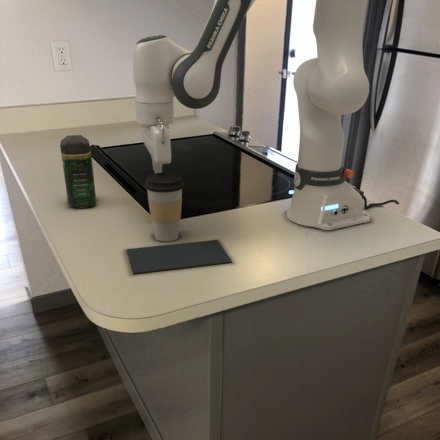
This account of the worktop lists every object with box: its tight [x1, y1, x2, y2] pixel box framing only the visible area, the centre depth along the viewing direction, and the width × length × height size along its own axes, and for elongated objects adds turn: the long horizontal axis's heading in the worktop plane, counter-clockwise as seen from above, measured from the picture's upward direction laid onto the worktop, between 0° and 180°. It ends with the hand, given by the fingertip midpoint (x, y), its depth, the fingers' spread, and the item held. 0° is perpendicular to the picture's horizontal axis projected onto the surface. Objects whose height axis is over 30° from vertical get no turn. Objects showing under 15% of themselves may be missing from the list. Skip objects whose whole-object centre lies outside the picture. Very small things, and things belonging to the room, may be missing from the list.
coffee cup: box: [143, 172, 185, 242], centre depth 117 cm, size 9×9×15 cm
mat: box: [126, 239, 233, 275], centre depth 111 cm, size 22×12×1 cm, turn 106°
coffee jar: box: [59, 134, 97, 209], centre depth 135 cm, size 10×8×19 cm
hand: (157, 172), depth 121 cm, fingers closed
